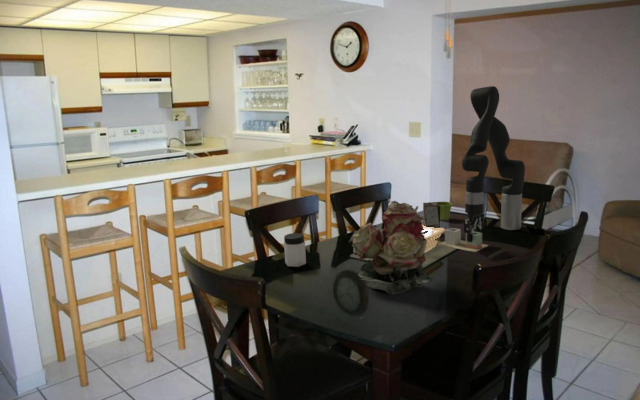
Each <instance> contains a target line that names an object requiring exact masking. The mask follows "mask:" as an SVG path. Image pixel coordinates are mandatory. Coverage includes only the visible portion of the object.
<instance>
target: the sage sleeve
mask: <svg viewBox="0 0 640 400" xmlns="http://www.w3.org/2000/svg"><path fill="white" fill-rule="evenodd" d="M472 234H473V241H472V242H468V241H467V233H465V241H466V247H467V248H472V249H478V248H480V247H482V244H483V232H481V233H480V232H475V230H473V233H472Z"/></svg>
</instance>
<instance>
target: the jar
mask: <svg viewBox="0 0 640 400" xmlns="http://www.w3.org/2000/svg"><path fill="white" fill-rule="evenodd" d="M283 239H284V242H283V245H284V246H283V248H284V251H283V252H284V264H286V266H287V267H292V268H293V267H294V268H299V267H303V266H304V265H307V258H306V257H307V256H306V255H307V254H306V253H307V252H306V242H305V235H304V234H303V233H301V232H300V233H299V232H294V233H287V234H284V237H283Z"/></svg>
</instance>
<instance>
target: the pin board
mask: <svg viewBox="0 0 640 400" xmlns="http://www.w3.org/2000/svg"><path fill="white" fill-rule="evenodd" d="M437 245H439V246H442V247H448V248H451V249H452V248H453V249H457V250H463V251H468V252H474V253H477V252H479V251H481V250H483V249H484V248H487V247H488V246H489V244H485V243H482V247H480V248H478V249H472V248H467V247H466V240H463V239H461V243H459V244H456V245H451V244H446V243H445V240H444V241H443V242H440V243H438V244H437Z"/></svg>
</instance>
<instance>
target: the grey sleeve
mask: <svg viewBox="0 0 640 400" xmlns="http://www.w3.org/2000/svg"><path fill="white" fill-rule="evenodd" d="M461 240H462V229H461V228H457V227H456V228H454V227H449V228H447V229H445V230H444V241H445V243H446V244H451V245H456V244H459V243H461Z"/></svg>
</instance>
